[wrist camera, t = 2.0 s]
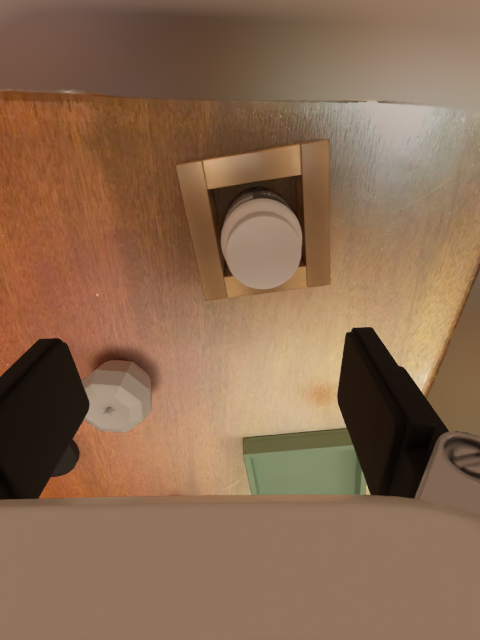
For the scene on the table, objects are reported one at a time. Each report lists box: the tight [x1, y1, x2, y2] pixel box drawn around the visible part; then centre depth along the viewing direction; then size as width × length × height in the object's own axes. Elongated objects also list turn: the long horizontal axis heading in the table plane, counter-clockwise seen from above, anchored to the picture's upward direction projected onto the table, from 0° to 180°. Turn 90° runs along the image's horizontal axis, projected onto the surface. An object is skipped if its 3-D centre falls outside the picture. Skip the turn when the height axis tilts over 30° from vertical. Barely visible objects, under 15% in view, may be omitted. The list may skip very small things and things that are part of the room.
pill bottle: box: [221, 187, 302, 289], centre depth 24 cm, size 6×6×10 cm
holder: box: [175, 139, 330, 301], centre depth 26 cm, size 11×11×4 cm
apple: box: [82, 360, 152, 432], centre depth 34 cm, size 8×8×7 cm
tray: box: [243, 429, 366, 495], centre depth 44 cm, size 16×17×3 cm
